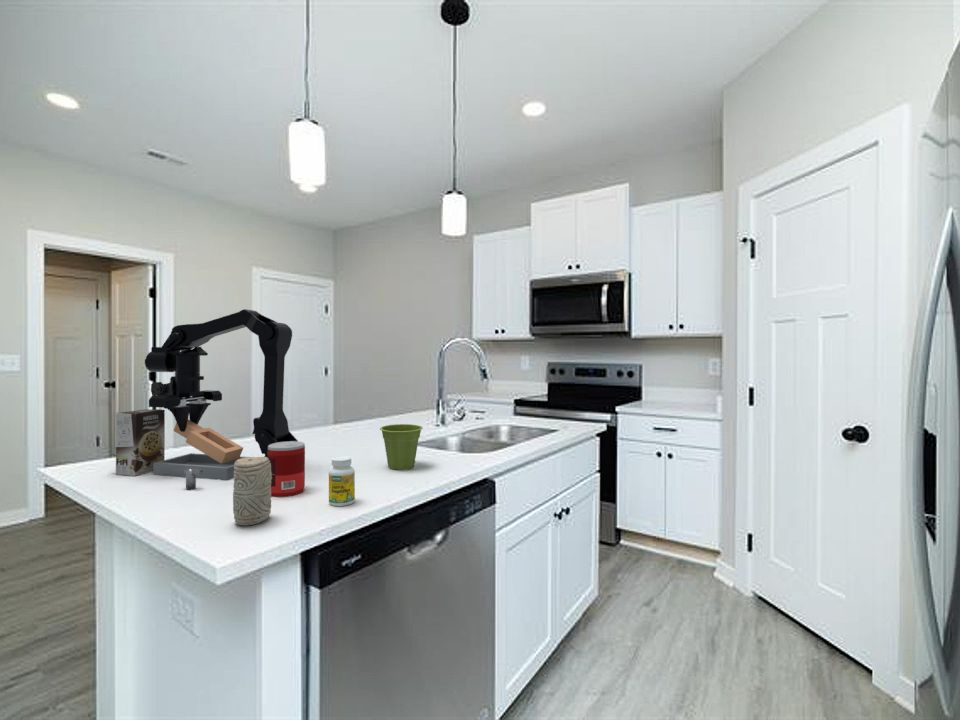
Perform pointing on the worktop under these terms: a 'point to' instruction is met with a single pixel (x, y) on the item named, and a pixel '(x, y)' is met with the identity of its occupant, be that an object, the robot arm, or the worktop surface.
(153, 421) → the cookie box
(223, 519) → the worktop surface
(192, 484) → the post
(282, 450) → the canned food
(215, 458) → the wooden slotted key block
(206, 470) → the tray
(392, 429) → the plant pot
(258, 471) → the carving
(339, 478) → the supplement bottle
